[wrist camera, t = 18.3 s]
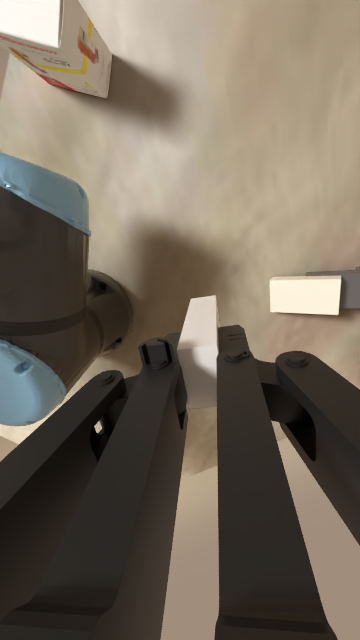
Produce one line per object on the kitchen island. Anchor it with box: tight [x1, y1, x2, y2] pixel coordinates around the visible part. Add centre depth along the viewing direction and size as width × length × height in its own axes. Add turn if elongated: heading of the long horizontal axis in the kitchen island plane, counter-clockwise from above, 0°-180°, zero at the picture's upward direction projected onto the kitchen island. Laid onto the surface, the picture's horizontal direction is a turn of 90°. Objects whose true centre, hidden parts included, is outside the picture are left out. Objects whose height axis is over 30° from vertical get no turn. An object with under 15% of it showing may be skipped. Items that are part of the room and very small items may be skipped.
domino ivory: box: [270, 276, 341, 315], centre depth 38 cm, size 2×5×9 cm
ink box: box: [0, 0, 112, 98], centre depth 28 cm, size 9×5×12 cm, turn 75°
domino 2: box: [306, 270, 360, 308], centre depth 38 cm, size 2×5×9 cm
